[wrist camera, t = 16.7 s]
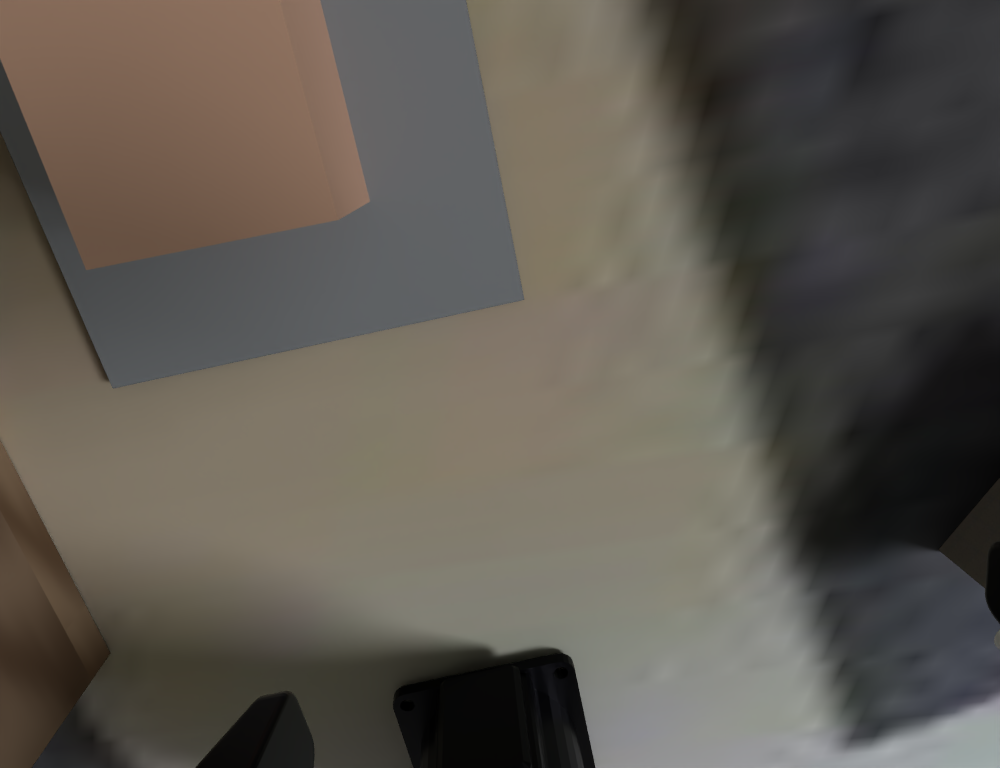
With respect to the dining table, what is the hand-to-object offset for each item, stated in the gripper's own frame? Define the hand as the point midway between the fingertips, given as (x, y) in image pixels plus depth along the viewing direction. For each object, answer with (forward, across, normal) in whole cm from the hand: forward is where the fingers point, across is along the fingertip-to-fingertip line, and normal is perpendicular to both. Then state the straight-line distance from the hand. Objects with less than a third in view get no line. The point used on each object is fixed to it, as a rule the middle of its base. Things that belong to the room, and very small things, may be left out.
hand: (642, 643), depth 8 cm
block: (+12, +6, -8) cm, 15 cm away
